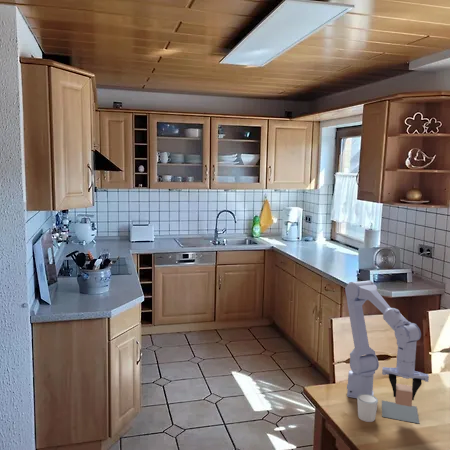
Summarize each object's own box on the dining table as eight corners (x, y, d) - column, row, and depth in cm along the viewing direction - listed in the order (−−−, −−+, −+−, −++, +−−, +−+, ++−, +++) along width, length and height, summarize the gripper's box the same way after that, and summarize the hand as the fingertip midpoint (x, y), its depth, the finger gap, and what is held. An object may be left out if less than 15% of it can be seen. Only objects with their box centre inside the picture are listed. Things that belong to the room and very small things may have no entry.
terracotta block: (395, 403, 146) (396, 389, 146) (395, 397, 151) (396, 383, 151) (411, 406, 145) (412, 392, 144) (410, 399, 149) (411, 385, 149)
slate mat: (382, 416, 151) (382, 416, 151) (381, 400, 162) (381, 400, 162) (419, 423, 147) (419, 423, 147) (416, 407, 158) (416, 406, 158)
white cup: (376, 424, 146) (377, 405, 145) (355, 420, 148) (356, 401, 147) (377, 414, 152) (378, 395, 151) (356, 410, 154) (357, 392, 154)
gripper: (383, 360, 145) (380, 398, 147) (430, 367, 140) (427, 407, 142) (383, 352, 152) (380, 389, 153) (428, 359, 147) (425, 397, 148)
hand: (403, 397), depth 148 cm, fingers closed on terracotta block, 5 cm apart
